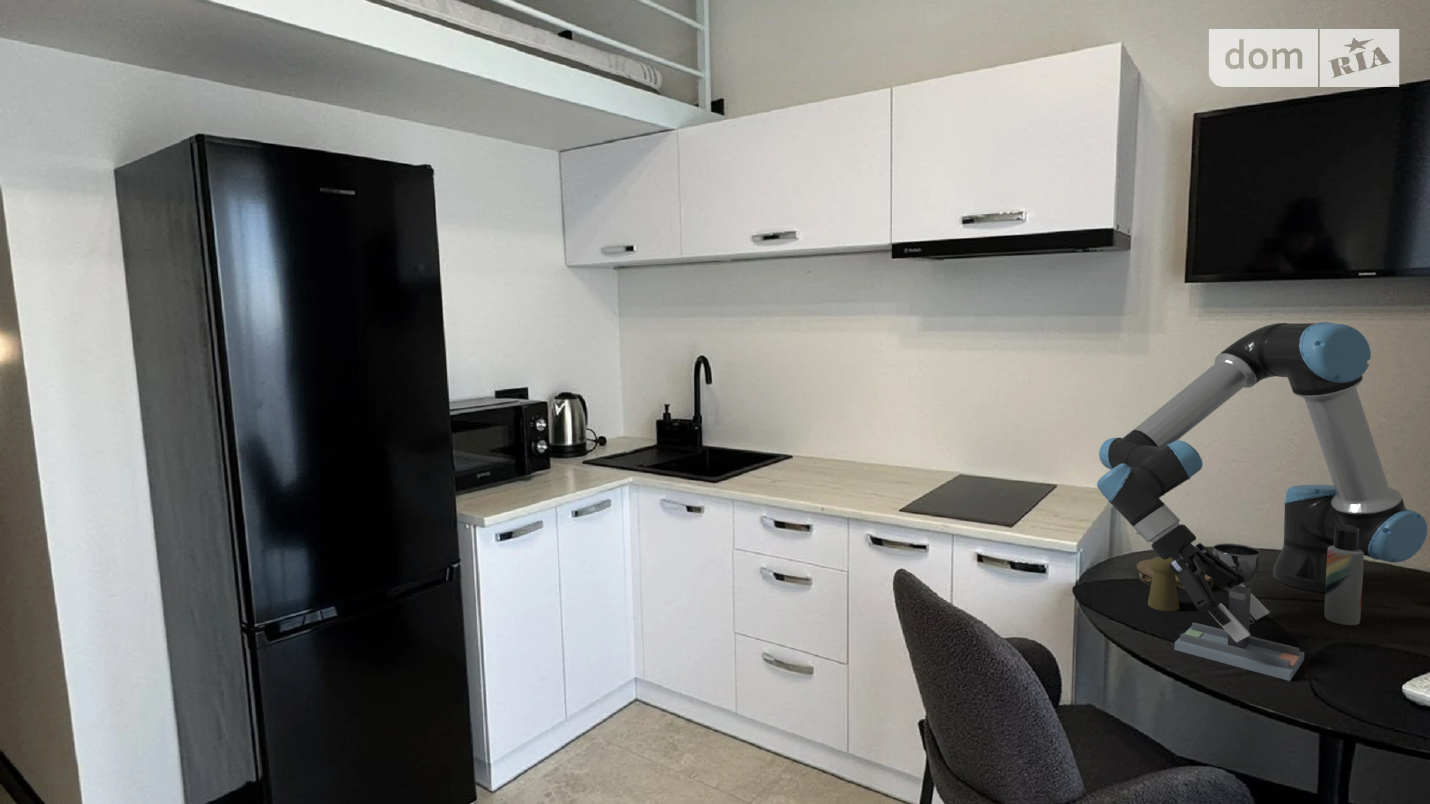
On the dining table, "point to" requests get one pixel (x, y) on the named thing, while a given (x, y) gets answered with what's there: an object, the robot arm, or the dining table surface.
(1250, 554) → the wine glass
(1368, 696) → the dining table surface
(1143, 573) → the wood slice
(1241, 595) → the handle
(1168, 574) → the cork
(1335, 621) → the lotion bottle
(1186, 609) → the dining table surface
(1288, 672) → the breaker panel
